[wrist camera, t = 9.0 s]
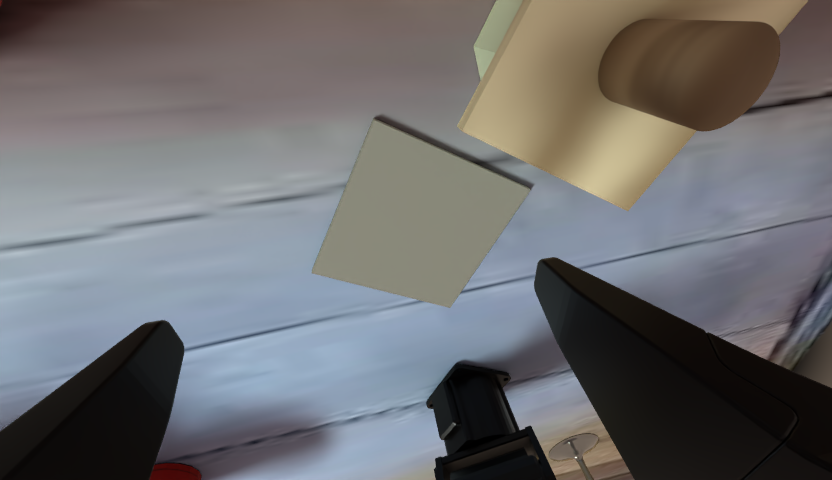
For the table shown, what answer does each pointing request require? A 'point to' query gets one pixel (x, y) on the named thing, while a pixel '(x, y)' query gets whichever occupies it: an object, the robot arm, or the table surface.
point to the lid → (623, 84)
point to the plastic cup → (174, 472)
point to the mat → (415, 218)
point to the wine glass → (575, 450)
